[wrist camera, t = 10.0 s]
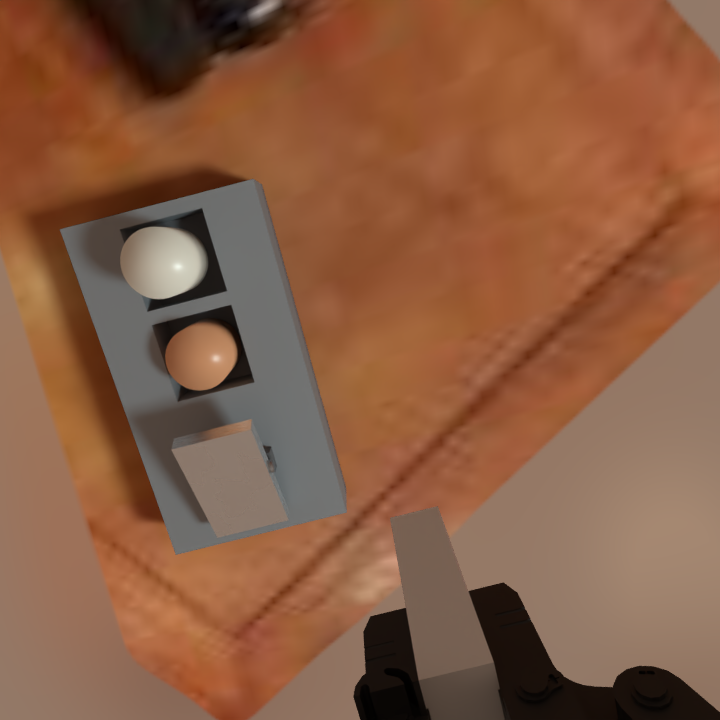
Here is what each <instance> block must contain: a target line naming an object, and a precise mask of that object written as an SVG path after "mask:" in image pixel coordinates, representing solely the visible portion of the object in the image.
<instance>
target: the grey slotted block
mask: <svg viewBox="0 0 720 720" xmlns="http://www.w3.org/2000/svg"><path fill="white" fill-rule="evenodd" d="M147 227H171V228H181V229H185V230H187V231H189V232H191V233H193V234H194V235H195V236H197V237H198V238H199V239H200V241H201V242H202V243H203V245H204V247H205V249H206V251H207V255H208V270H207V273H206V275H205V277H204V279H203V280H202V282H201V283H200V284H199V285H198V286H196V287H195V288H193V289H191V290H189V291H186V292H184V293H181V294H178V295H175V296H173V297H170V298H166V299H152V298H148V297H145V296H143V295H141V294H139V293H138V292H136V291H135V290H134V289H133V288H132V287H131V286H130V285H129V284H128V282H127V281H126V279H125V278H124V276H123V273H122V270H121V265H120V256H121V251H122V248H123V246H124V244H125V242H126V240H127V239H128V238H129V237H130V236H131V235H132V234H133V233H135V232H136V231H138V230H140V229H143V228H147ZM60 231H61V234H62V237H63V240H64V243H65V245H66V248H67V251H68V254H69V257H70V259H71V262H72V265H73V268H74V271H75V273H76V276H77V279H78V282H79V285H80V287H81V290H82V293H83V296H84V299H85V301H86V304H87V307H88V310H89V313H90V315H91V318H92V321H93V324H94V327H95V329H96V332H97V335H98V338H99V341H100V343H101V346H102V349H103V352H104V355H105V357H106V360H107V363H108V366H109V369H110V371H111V374H112V377H113V380H114V383H115V385H116V388H117V391H118V394H119V397H120V399H121V402H122V405H123V408H124V411H125V413H126V416H127V419H128V422H129V425H130V427H131V430H132V433H133V436H134V439H135V441H136V444H137V447H138V450H139V453H140V455H141V458H142V461H143V464H144V467H145V469H146V472H147V475H148V478H149V481H150V483H151V486H152V489H153V492H154V495H155V497H156V500H157V503H158V506H159V509H160V511H161V514H162V517H163V520H164V523H165V525H166V528H167V531H168V534H169V537H170V539H171V542H172V545H173V548H174V551H175V553H176V555H177V554H181V553H185V552H189V551H193V550H197V549H201V548H205V547H209V546H213V545H217V544H221V543H225V542H229V541H233V540H237V539H241V538H245V537H249V536H253V535H257V534H261V533H266V532H270V531H274V530H278V529H282V528H286V527H290V526H294V525H298V524H302V523H306V522H310V521H314V520H318V519H322V518H326V517H330V516H334V515H338V514H342V513H346V512H347V509H346V486H345V482H344V479H343V475H342V472H341V468H340V464H339V461H338V457H337V454H336V450H335V446H334V443H333V439H332V436H331V432H330V428H329V425H328V421H327V417H326V414H325V410H324V407H323V403H322V399H321V396H320V392H319V389H318V385H317V381H316V378H315V374H314V371H313V367H312V363H311V360H310V356H309V353H308V349H307V345H306V342H305V338H304V335H303V331H302V327H301V324H300V320H299V317H298V313H297V309H296V306H295V302H294V298H293V295H292V291H291V288H290V284H289V280H288V277H287V273H286V270H285V266H284V262H283V259H282V255H281V252H280V248H279V244H278V241H277V237H276V234H275V230H274V226H273V223H272V219H271V216H270V212H269V208H268V205H267V201H266V197H265V194H264V190H263V187H262V184H260V183H259V182H257V181H256V180H254V179H251V180H247V181H243V182H240V183H236V184H232V185H228V186H224V187H220V188H217V189H213V190H209V191H205V192H201V193H197V194H194V195H190V196H186V197H182V198H178V199H174V200H171V201H167V202H163V203H159V204H155V205H151V206H148V207H144V208H140V209H136V210H132V211H128V212H125V213H121V214H117V215H113V216H109V217H105V218H102V219H98V220H94V221H90V222H86V223H82V224H79V225H75V226H71V227H67V228H63V229H60ZM205 318H216V319H220V320H223V321H225V322H227V323H228V324H230V325H231V326H232V327H233V328H234V329H235V330H236V332H237V333H238V335H239V337H240V340H241V346H242V350H241V356H240V359H239V361H238V362H237V364H236V365H235V367H234V368H233V369H232V370H231V371H230V373H229V374H228V375H227V376H226V378H225V379H224V380H223V381H222V382H221V383H220V384H219V385H217V386H215V387H213V388H211V389H208V390H192V389H188V388H186V387H184V386H182V385H180V384H179V383H178V382H177V381H175V379H174V378H173V377H172V376H171V375H170V373H169V371H168V369H167V366H166V360H165V354H166V349H167V346H168V343H169V342H170V340H171V339H172V338H173V336H174V335H176V334H177V333H178V332H180V331H181V330H183V329H185V328H186V327H188V326H190V325H191V324H193V323H195V322H196V321H199V320H201V319H205ZM250 419H252V421H253V423H254V426H255V428H256V431H257V433H258V435H259V438H260V440H261V443H262V445H263V448H264V450H265V452H266V455H267V457H268V460H270V459H273V460H274V463H275V467H276V472H275V473H274V474H275V477H276V479H277V482H278V484H279V486H280V489H281V491H282V494H283V496H284V499H285V501H286V504H287V506H288V508H289V520H287V521H283V522H279V523H275V524H271V525H267V526H263V527H259V528H255V529H251V530H247V531H243V532H239V533H235V534H231V535H227V536H223V537H219V538H217V536H216V534H215V532H214V530H213V528H212V526H211V525H210V523H209V521H208V519H207V517H206V515H205V513H204V511H203V509H202V507H201V506H200V504H199V502H198V500H197V498H196V496H195V494H194V492H193V490H192V488H191V486H190V485H189V483H188V481H187V479H186V477H185V475H184V473H183V471H182V469H181V467H180V465H179V464H178V462H177V460H176V458H175V456H174V454H173V452H172V450H171V449H172V445H173V441H174V439H175V438H179V437H183V436H187V435H190V434H194V433H198V432H202V431H206V430H210V429H214V428H218V427H222V426H226V425H230V424H234V423H238V422H242V421H246V420H250Z"/></svg>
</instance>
